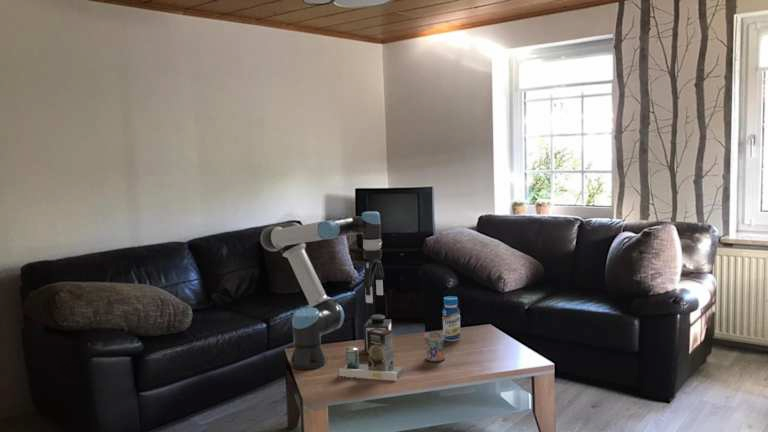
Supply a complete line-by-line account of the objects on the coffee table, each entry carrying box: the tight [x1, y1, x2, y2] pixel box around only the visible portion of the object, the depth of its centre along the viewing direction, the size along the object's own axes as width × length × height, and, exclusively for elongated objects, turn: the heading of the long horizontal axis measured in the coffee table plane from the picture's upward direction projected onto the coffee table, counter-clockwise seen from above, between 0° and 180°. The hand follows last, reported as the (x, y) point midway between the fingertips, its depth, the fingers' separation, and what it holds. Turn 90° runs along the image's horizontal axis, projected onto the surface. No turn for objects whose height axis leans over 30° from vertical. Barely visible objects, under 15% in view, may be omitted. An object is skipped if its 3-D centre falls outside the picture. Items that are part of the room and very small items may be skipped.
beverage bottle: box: [441, 295, 462, 342], centre depth 290 cm, size 8×8×20 cm
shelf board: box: [338, 363, 404, 382], centre depth 249 cm, size 24×10×3 cm, turn 72°
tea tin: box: [345, 346, 360, 369], centre depth 252 cm, size 5×5×8 cm
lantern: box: [363, 290, 393, 356], centre depth 277 cm, size 11×11×28 cm
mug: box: [423, 331, 446, 362], centre depth 264 cm, size 12×9×11 cm
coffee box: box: [367, 328, 395, 372], centre depth 248 cm, size 9×6×16 cm
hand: (374, 298), depth 257 cm, fingers open, 13 cm apart
